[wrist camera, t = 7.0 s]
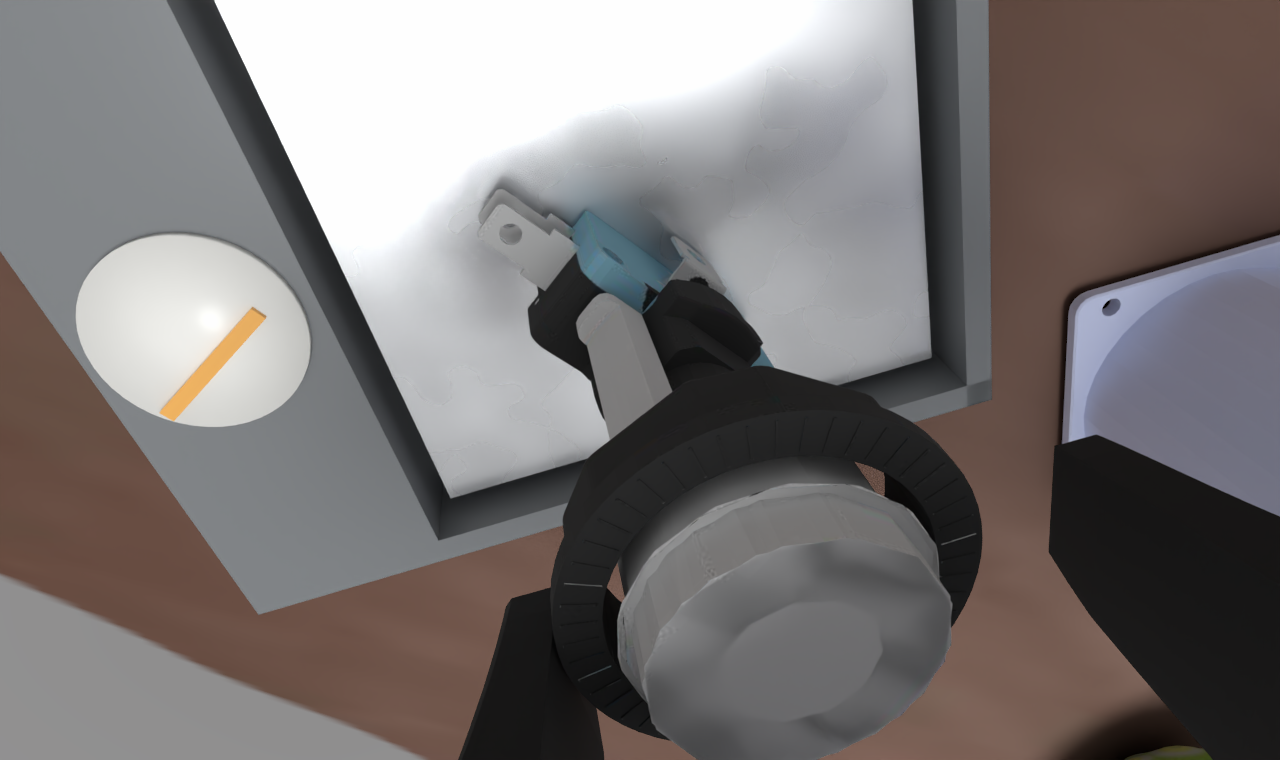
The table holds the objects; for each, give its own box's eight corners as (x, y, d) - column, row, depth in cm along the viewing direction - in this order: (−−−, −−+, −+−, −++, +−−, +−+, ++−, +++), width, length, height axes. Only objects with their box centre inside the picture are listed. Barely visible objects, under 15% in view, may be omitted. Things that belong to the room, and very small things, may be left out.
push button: (415, 293, 17) (343, 695, 8) (571, 76, 15) (688, 286, 7) (660, 442, 19) (799, 855, 11) (813, 272, 18) (1117, 597, 9)
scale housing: (886, -315, 15) (996, -374, 12) (924, 333, 22) (998, 406, 19) (-63, -47, 15) (-218, -34, 12) (290, 518, 22) (255, 624, 19)
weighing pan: (878, -249, 14) (898, -257, 13) (916, 342, 20) (931, 357, 20) (202, -58, 14) (187, -56, 13) (451, 478, 20) (450, 498, 19)
